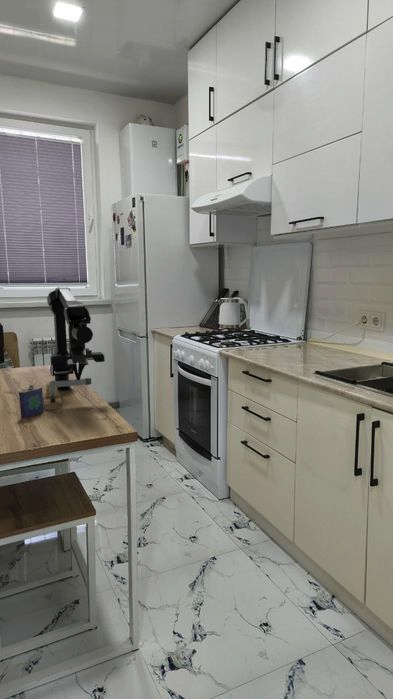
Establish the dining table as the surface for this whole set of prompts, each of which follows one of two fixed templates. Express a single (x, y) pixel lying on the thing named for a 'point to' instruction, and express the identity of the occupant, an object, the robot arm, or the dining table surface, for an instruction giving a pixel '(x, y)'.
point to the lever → (66, 383)
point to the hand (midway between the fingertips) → (78, 381)
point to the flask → (31, 402)
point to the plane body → (52, 405)
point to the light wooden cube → (49, 389)
